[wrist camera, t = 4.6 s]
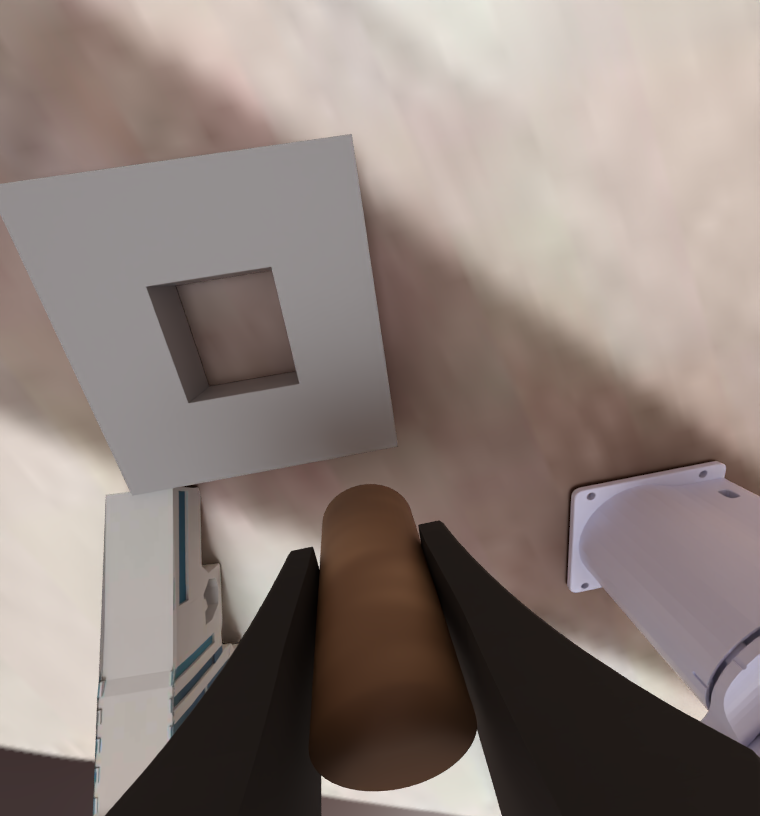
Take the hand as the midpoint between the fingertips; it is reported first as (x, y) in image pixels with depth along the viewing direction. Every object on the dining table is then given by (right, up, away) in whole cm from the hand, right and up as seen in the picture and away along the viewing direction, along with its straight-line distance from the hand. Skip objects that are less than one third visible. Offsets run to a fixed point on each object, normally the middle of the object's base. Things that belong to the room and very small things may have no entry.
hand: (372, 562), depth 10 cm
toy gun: (-10, -6, +11) cm, 16 cm away
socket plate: (-6, +8, +6) cm, 12 cm away
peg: (0, +1, +2) cm, 2 cm away
